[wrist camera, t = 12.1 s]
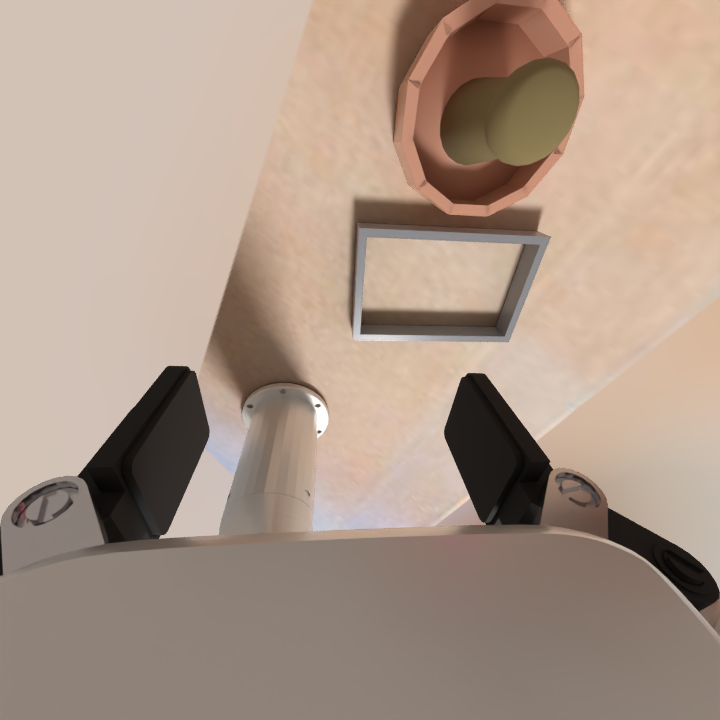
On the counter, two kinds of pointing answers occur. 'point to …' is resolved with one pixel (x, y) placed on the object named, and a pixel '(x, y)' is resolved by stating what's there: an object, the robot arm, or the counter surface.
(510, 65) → the bowl
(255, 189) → the counter surface
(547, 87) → the olive pestle
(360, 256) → the grey rectangular frame
